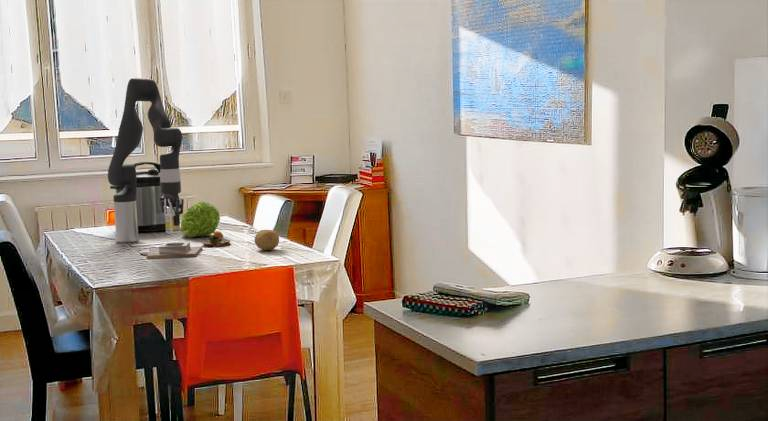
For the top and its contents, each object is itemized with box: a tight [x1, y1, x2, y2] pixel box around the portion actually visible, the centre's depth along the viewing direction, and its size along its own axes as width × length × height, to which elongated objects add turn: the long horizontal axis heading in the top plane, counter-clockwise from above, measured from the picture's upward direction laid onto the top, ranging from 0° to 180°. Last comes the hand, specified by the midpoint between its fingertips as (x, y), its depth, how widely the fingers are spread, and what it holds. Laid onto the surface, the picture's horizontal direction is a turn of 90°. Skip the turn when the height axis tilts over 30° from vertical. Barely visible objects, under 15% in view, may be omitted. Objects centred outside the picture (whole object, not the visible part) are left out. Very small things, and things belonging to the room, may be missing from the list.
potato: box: [254, 229, 280, 251], centre depth 349 cm, size 10×14×8 cm
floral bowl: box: [201, 230, 231, 248], centre depth 366 cm, size 12×12×8 cm
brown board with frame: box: [146, 241, 203, 260], centre depth 346 cm, size 18×18×4 cm
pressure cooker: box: [109, 161, 166, 232], centre depth 420 cm, size 30×28×32 cm
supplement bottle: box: [165, 207, 181, 234], centre depth 344 cm, size 5×5×10 cm
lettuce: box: [180, 201, 221, 238], centre depth 395 cm, size 15×25×16 cm
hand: (172, 224), depth 345 cm, fingers closed on supplement bottle, 5 cm apart
